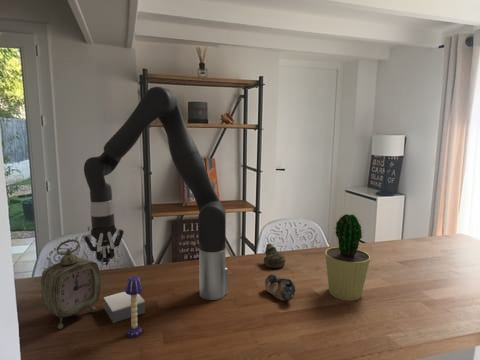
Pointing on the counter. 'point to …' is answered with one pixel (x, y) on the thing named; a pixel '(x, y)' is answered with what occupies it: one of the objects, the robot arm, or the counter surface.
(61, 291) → the tabletop clock
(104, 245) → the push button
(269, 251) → the seashell
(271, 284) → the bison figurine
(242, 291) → the counter surface
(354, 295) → the potted cactus
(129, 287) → the toy lamp
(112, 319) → the plinth
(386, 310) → the counter surface
